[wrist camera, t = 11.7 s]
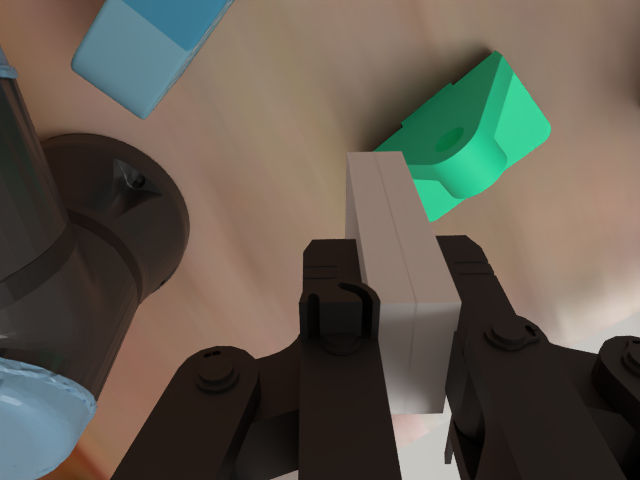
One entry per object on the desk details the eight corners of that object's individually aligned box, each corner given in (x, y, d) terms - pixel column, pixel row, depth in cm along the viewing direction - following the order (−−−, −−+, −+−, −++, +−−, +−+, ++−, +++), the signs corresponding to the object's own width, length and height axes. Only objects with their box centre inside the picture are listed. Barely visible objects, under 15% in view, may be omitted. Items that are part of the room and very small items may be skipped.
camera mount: (420, 211, 45) (447, 281, 37) (365, 151, 42) (380, 211, 34) (542, 121, 41) (605, 176, 33) (490, 47, 38) (545, 85, 30)
